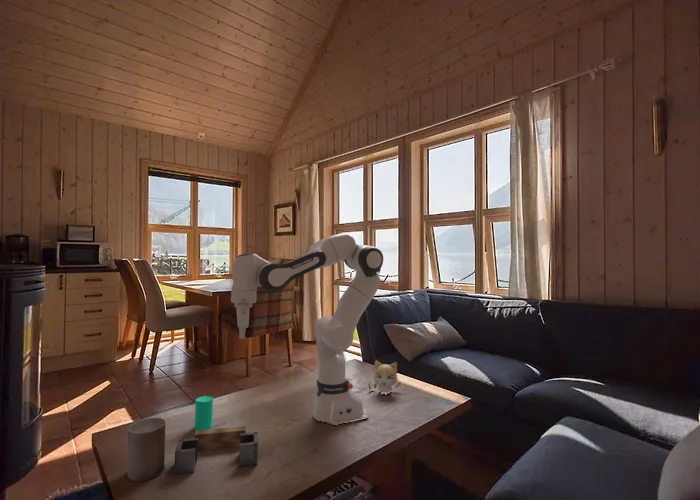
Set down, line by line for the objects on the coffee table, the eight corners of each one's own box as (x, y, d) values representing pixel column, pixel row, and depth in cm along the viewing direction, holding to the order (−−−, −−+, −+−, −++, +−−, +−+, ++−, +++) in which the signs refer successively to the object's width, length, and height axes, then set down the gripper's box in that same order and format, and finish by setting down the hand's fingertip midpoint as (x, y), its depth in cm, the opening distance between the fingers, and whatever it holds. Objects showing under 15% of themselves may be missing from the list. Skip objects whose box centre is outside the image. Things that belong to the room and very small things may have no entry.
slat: (245, 442, 125) (245, 426, 125) (245, 446, 122) (245, 430, 122) (195, 446, 121) (196, 430, 121) (193, 451, 118) (194, 434, 118)
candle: (205, 432, 130) (207, 398, 130) (191, 430, 131) (192, 396, 132) (215, 424, 136) (216, 392, 136) (201, 422, 137) (202, 390, 137)
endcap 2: (256, 451, 118) (257, 431, 118) (257, 464, 111) (258, 443, 111) (239, 454, 117) (240, 433, 117) (239, 467, 110) (239, 445, 110)
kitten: (366, 395, 169) (367, 363, 169) (370, 387, 179) (371, 357, 179) (398, 399, 165) (399, 366, 166) (400, 391, 175) (401, 360, 175)
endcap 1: (174, 475, 105) (174, 452, 105) (178, 460, 112) (179, 439, 112) (194, 472, 106) (194, 450, 106) (197, 458, 113) (198, 437, 114)
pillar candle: (170, 462, 111) (171, 413, 111) (154, 482, 101) (155, 428, 102) (138, 462, 111) (139, 413, 111) (118, 482, 101) (120, 428, 101)
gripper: (254, 301, 123) (251, 342, 122) (251, 294, 142) (249, 330, 142) (234, 300, 121) (232, 342, 121) (234, 294, 140) (232, 330, 140)
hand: (241, 335), depth 131 cm, fingers open, 8 cm apart
